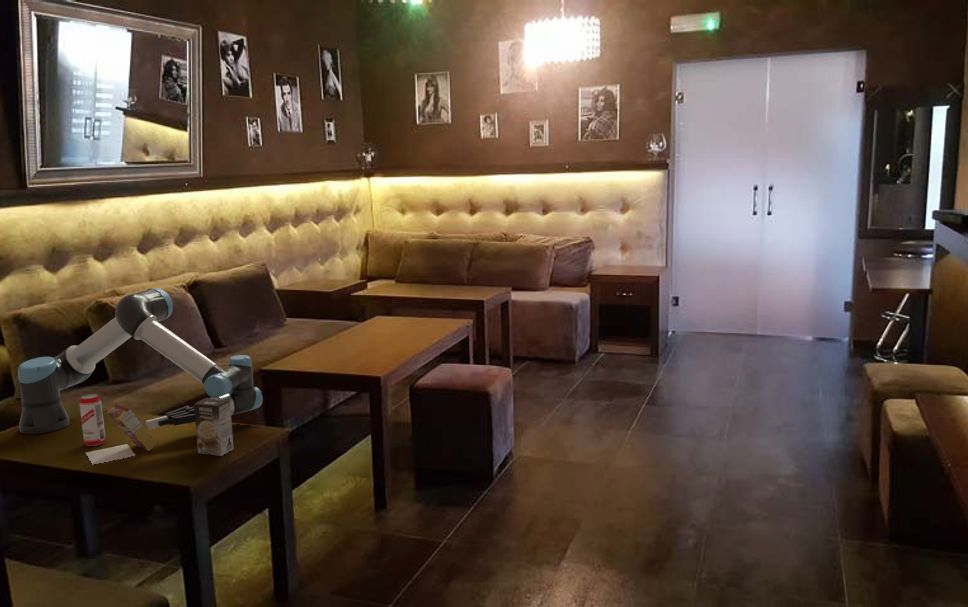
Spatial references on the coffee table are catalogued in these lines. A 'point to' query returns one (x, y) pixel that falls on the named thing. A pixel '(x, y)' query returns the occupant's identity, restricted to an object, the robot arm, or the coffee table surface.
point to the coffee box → (213, 426)
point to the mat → (110, 454)
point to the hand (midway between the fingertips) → (146, 425)
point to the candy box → (132, 427)
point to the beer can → (92, 420)
